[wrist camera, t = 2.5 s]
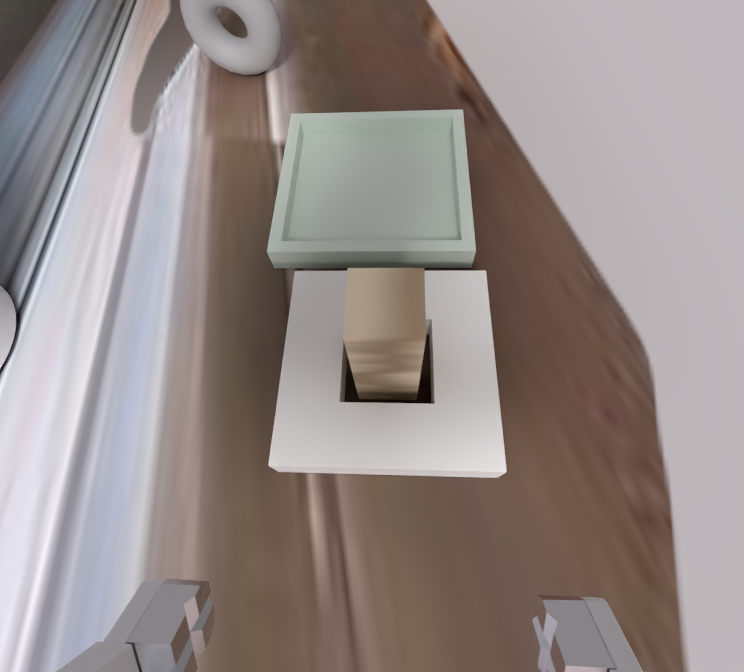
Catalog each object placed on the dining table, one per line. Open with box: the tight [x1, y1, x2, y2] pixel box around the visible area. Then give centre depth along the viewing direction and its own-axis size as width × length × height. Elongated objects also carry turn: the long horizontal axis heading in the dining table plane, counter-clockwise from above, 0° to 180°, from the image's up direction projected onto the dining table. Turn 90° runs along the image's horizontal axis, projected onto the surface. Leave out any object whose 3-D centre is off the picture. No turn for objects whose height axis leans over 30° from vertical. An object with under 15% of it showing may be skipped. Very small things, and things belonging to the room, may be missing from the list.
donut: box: [180, 0, 282, 76], centre depth 42 cm, size 10×4×10 cm, turn 77°
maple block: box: [343, 268, 426, 400], centre depth 25 cm, size 4×4×10 cm
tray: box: [267, 110, 476, 268], centre depth 36 cm, size 16×16×2 cm
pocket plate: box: [268, 271, 507, 478], centre depth 29 cm, size 14×14×2 cm
